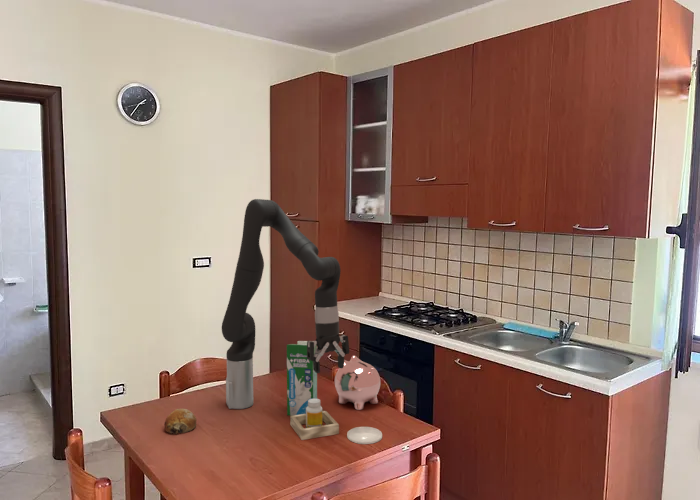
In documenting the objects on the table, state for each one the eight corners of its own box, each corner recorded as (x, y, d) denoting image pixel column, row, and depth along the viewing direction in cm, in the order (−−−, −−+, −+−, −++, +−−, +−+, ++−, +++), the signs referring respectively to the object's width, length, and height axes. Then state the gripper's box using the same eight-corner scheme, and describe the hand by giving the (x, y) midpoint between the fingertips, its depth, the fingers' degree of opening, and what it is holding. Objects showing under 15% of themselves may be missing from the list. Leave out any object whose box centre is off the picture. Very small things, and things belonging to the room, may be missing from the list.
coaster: (355, 446, 167) (355, 444, 167) (341, 432, 177) (341, 429, 177) (388, 440, 171) (388, 438, 171) (373, 426, 181) (373, 424, 181)
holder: (301, 440, 171) (301, 430, 171) (290, 424, 183) (290, 415, 182) (338, 433, 176) (338, 424, 176) (325, 419, 187) (325, 410, 187)
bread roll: (199, 438, 181) (206, 412, 184) (179, 436, 172) (186, 409, 175) (176, 432, 185) (182, 408, 188) (155, 430, 176) (162, 404, 179)
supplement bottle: (303, 427, 181) (303, 399, 180) (318, 424, 183) (318, 396, 182) (309, 434, 176) (309, 404, 175) (325, 430, 178) (325, 402, 177)
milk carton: (317, 406, 199) (317, 338, 196) (313, 416, 190) (312, 345, 187) (292, 405, 199) (291, 337, 197) (287, 415, 190) (286, 344, 188)
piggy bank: (353, 390, 215) (353, 350, 213) (388, 402, 203) (389, 360, 201) (324, 401, 204) (324, 358, 203) (360, 414, 192) (360, 369, 190)
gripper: (340, 315, 183) (342, 364, 184) (301, 321, 175) (303, 371, 176) (352, 318, 177) (354, 368, 178) (312, 324, 169) (315, 377, 170)
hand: (329, 370), depth 177 cm, fingers open, 8 cm apart
